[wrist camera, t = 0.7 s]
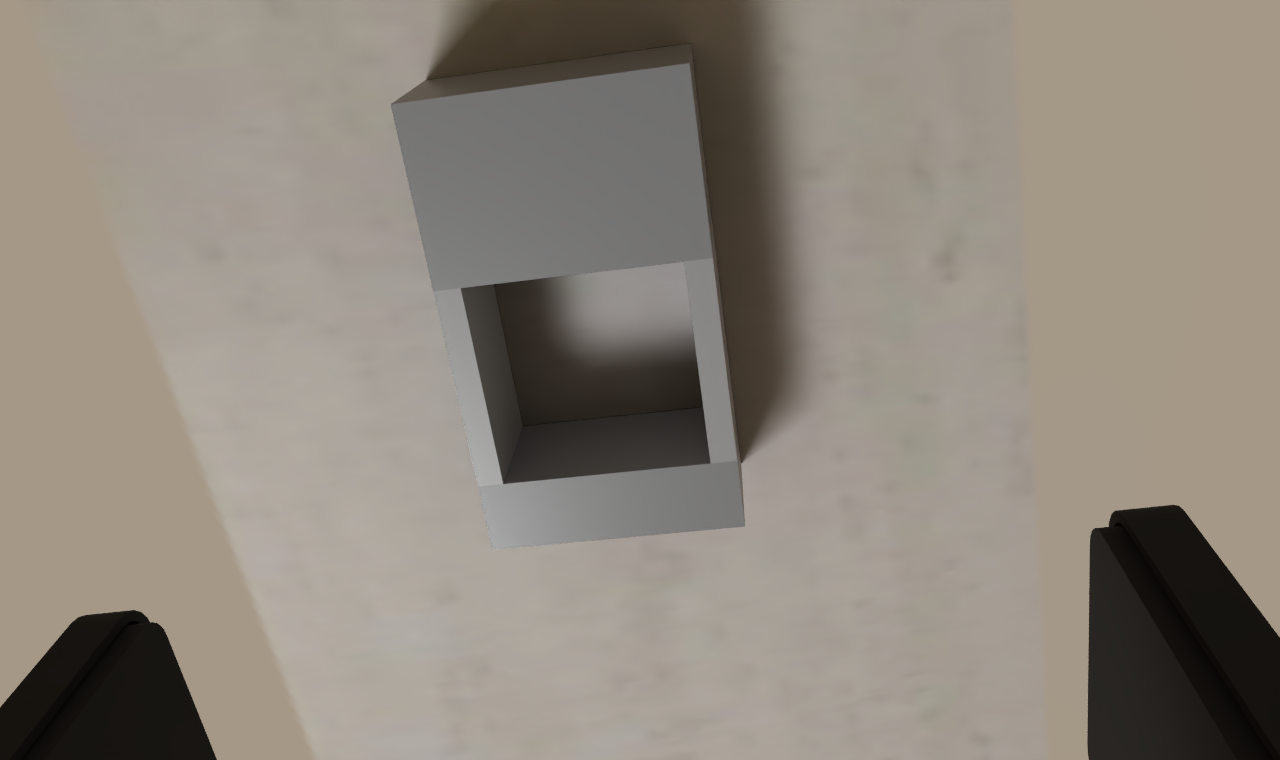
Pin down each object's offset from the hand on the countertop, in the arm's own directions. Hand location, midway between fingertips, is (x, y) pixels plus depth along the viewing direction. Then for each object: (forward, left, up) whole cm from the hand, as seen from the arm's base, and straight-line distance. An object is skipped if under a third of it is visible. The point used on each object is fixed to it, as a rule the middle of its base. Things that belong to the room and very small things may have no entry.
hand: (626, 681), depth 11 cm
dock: (+4, -3, -25) cm, 25 cm away
